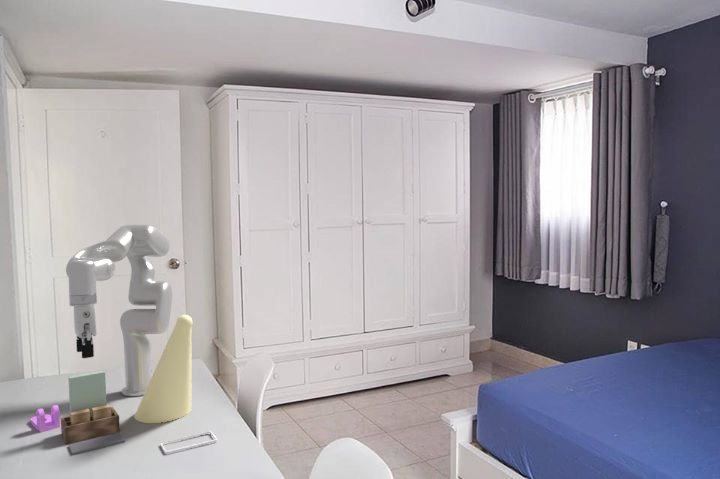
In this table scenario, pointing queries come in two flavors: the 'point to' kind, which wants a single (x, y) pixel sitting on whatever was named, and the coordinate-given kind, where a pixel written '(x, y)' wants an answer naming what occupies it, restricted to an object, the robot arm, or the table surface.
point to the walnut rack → (89, 428)
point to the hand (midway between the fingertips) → (85, 354)
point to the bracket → (46, 419)
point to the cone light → (170, 379)
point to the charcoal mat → (96, 443)
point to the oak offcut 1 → (80, 416)
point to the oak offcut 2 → (101, 412)
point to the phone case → (187, 446)
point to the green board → (87, 391)
